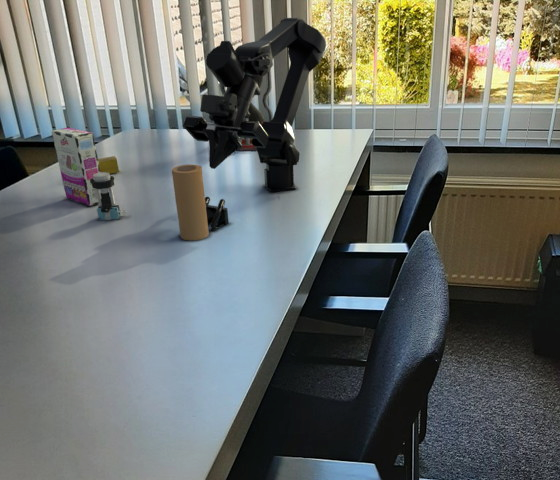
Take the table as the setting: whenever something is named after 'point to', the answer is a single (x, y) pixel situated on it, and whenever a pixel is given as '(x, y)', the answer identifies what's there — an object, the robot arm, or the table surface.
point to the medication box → (108, 165)
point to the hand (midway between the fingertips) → (211, 167)
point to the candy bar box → (77, 163)
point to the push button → (105, 196)
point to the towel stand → (216, 214)
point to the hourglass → (256, 110)
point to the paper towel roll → (190, 202)
